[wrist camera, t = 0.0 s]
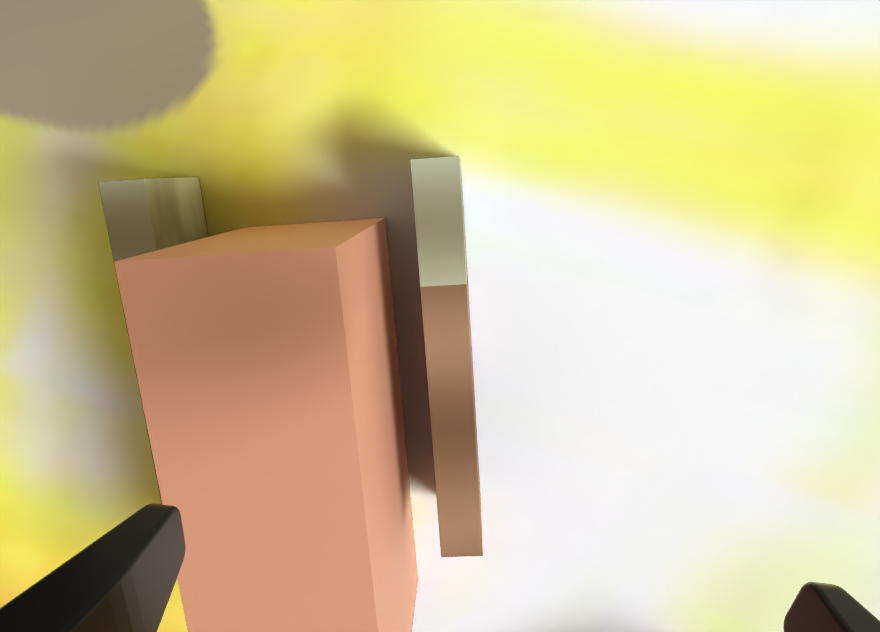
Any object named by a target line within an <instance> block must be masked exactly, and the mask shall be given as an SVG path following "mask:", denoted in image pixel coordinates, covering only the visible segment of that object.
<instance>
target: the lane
mask: <svg viewBox="0 0 880 632" xmlns="http://www.w3.org/2000/svg"><path fill="white" fill-rule="evenodd" d="M410 161H411V174H412V187H413V200H414V213H415V226H416V238H417V251H418V264H419V277H420V290H421V303H422V316H423V328H424V341H425V354H426V367H427V380H428V393H429V405H430V418H431V431H432V444H433V457H434V470H435V482H436V495H437V508H438V521H439V534H440V547H441V557H457V556H483V552H482V525H481V498H480V481H479V464H478V447H477V430H476V413H475V396H474V379H473V362H472V345H471V328H470V310H469V293H468V276H467V259H466V242H465V225H464V208H463V191H462V174H461V158H460V157H459V156H453V157H439V158H425V159H411V160H410ZM98 183H99V189H100V194H101V199H102V204H103V209H104V214H105V219H106V224H107V229H108V234H109V239H110V244H111V249H112V254H113V259H114V262H115V261H119V260H123V259H126V258H130V257H134V256H138V255H142V254H145V253H149V252H153V251H157V250H160V249H164V248H168V247H172V246H176V245H179V244H183V243H187V242H191V241H195V240H198V239H202V238H206V237H208V232H207V226H206V219H205V213H204V207H203V200H202V194H201V188H200V182H199V177H184V178H153V179H134V180H120V181H106V182H98ZM122 305H123V304H122ZM123 310H124V309H123ZM124 315H125V314H124ZM125 320H126V319H125ZM126 325H127V324H126ZM127 330H128V329H127ZM128 335H129V334H128ZM129 340H130V339H129ZM130 345H131V344H130ZM131 350H132V349H131ZM132 355H133V354H132ZM133 360H134V359H133ZM134 365H135V364H134ZM135 370H136V369H135ZM136 375H137V374H136ZM137 380H138V379H137ZM138 385H139V384H138ZM139 390H140V389H139ZM140 395H141V394H140ZM141 400H142V399H141ZM142 405H143V404H142ZM143 410H144V409H143ZM144 416H145V414H144ZM145 421H146V419H145ZM146 426H147V424H146ZM147 431H148V429H147ZM148 436H149V434H148ZM149 441H150V439H149ZM150 446H151V444H150ZM151 451H152V449H151ZM152 456H153V454H152ZM153 461H154V459H153ZM154 466H155V464H154ZM155 471H156V469H155ZM156 476H157V474H156ZM157 481H158V479H157ZM158 486H159V484H158ZM159 491H160V489H159ZM160 496H161V494H160ZM161 501H162V499H161ZM162 505H163V504H162Z"/></svg>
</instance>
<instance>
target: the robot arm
mask: <svg viewBox="0 0 880 632" xmlns="http://www.w3.org/2000/svg"><path fill="white" fill-rule="evenodd" d="M185 548H186V546H185V538H184V532H183V526H182V520H181V514H180V511H179V509H178V508H177V507H175V506H171V505H162V504H149V505H146V506H144V507H143V508H141V509H140V510H138V511H137V512H136V513H134V514H133V515H131V516H130V517H129V518H127V519H126V520H124V521H123V522H121V523H120V524H119V525H117V526H116V527H114V528H113V529H112V530H110V531H109V532H107V533H106V534H104V535H103V536H102V537H100V538H99V539H97V540H96V541H95V542H93V543H92V544H90V545H89V546H87V547H86V548H85V549H83V550H82V551H80V552H79V553H78V554H76V555H75V556H73V557H72V558H71V559H69V560H68V561H66V562H65V563H63V564H62V565H61V566H59V567H58V568H56V569H55V570H54V571H52V572H51V573H49V574H48V575H46V576H45V577H44V578H42V579H41V580H39V581H38V582H37V583H35V584H34V585H32V586H31V587H29V588H28V589H27V590H25V591H24V592H22V593H21V594H20V595H18V596H17V597H15V598H14V599H13V600H11V601H10V602H8V603H7V604H5V605H4V606H3V607H1V608H0V632H157V630H158V627H159V624H160V622H161V619H162V616H163V614H164V611H165V608H166V606H167V603H168V600H169V598H170V595H171V592H172V590H173V587H174V584H175V582H176V579H177V576H178V574H179V571H180V568H181V566H182V563H183V560H184V556H185ZM784 632H880V621H879V620H878V619H877V618H876V617H875V616H873V615H872V614H871V613H870V612H869V611H868V610H867V609H865V608H864V607H863V606H862V605H861V604H860V603H859V602H857V601H856V600H855V599H854V598H853V597H852V596H851V595H849V594H848V593H847V592H846V591H845V590H843V589H842V588H840V587H839V586H836V585H832V584H825V583H816V582H808V583H806V584H805V585H803V587H802V588H801V590H800V591H799V593H798V595H797V597H796V598H795V600H794V602H793V604H792V605H791V607H790V609H789V611H788V612H787V614H786V616H785V620H784Z"/></svg>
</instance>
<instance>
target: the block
mask: <svg viewBox="0 0 880 632" xmlns="http://www.w3.org/2000/svg"><path fill="white" fill-rule="evenodd" d="M114 264H115V269H116V274H117V279H118V284H119V289H120V294H121V299H122V304H123V309H124V314H125V319H126V324H127V329H128V334H129V339H130V344H131V349H132V354H133V359H134V364H135V369H136V374H137V379H138V384H139V389H140V394H141V399H142V404H143V409H144V414H145V419H146V424H147V429H148V434H149V439H150V444H151V449H152V454H153V459H154V464H155V469H156V474H157V479H158V484H159V489H160V494H161V499H162V504H163V505H171V506H175V507H177V508H178V509H179V511H180V514H181V520H182V526H183V532H184V538H185V546H186V548H185V556H184V560H183V563H182V566H181V568H180V571H179V574H178V576H177V579H178V584H179V589H180V594H181V599H182V604H183V609H184V614H185V619H186V624H187V629H188V632H412V624H413V616H414V608H415V600H416V592H417V584H418V574H417V563H416V552H415V541H414V530H413V519H412V508H411V497H410V486H409V475H408V464H407V452H406V441H405V430H404V419H403V408H402V397H401V386H400V375H399V364H398V353H397V342H396V331H395V320H394V309H393V298H392V287H391V276H390V265H389V254H388V243H387V232H386V221H385V218H373V219H358V220H344V221H329V222H314V223H299V224H284V225H270V226H255V227H244V228H240V229H236V230H232V231H229V232H225V233H221V234H217V235H213V236H210V237H206V238H202V239H198V240H195V241H191V242H187V243H183V244H179V245H176V246H172V247H168V248H164V249H160V250H157V251H153V252H149V253H145V254H142V255H138V256H134V257H130V258H126V259H123V260H119V261H115V262H114Z"/></svg>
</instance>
